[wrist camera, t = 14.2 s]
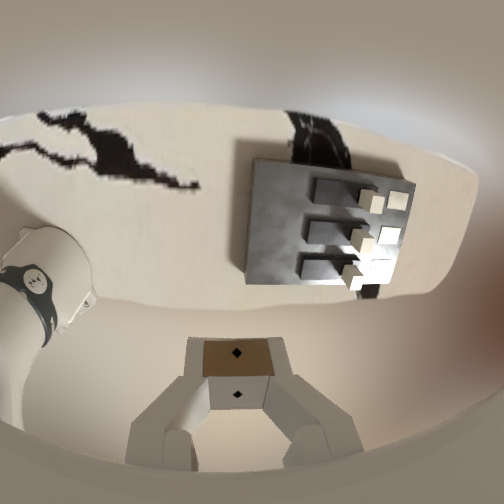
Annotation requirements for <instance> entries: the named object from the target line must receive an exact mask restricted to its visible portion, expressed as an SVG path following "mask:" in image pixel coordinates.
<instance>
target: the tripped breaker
mask: <svg viewBox="0 0 504 504" xmlns="http://www.w3.org/2000/svg"><path fill="white" fill-rule="evenodd" d="M384 200H385V197H384V196H382V195H380V194H378V193H376V192H374V191H372V190H365V189H361V193H360V198H359V204H358V205H359V206H360V207H362V208H363V209H365V210H366V211H368V212H369V213H375V214H382V209H383V205H384Z"/></svg>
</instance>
